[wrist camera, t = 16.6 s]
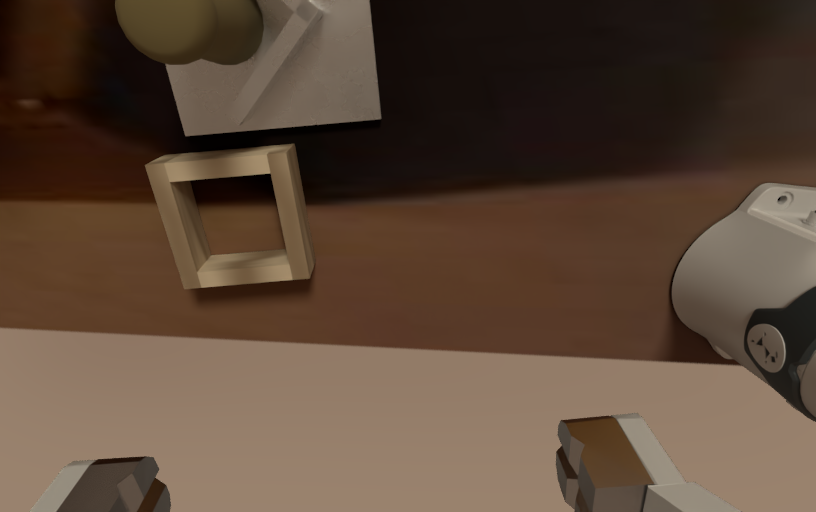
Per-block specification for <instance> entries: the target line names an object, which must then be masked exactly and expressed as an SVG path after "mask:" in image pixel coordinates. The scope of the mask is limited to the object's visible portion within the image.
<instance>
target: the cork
mask: <svg viewBox="0 0 816 512" xmlns="http://www.w3.org/2000/svg"><path fill="white" fill-rule="evenodd" d="M115 9H116V13H117V17H118V21H119V24H120V26H121V28H122V30H123V32H124V33H125V35H126V37H127V38H128V40H129V41H130V42H131V43H132V44H133V45H134V46H135V47H136V48H137V49H138V50H139V51H140V52H142V53H144V54H145V55H147V56H148V57H150V58H151V59H153V60H155V61H159V62H162V63H165V64H168V65H185V64H189V63H192V62H195V61H197V60H200V59H203V60H207V61H210V62H214V63H217V64H221V65H237V64H240V63H242V62H245V61H247V60H248V59H249V58H250V57H252V56H253V55H254V54H255V53H256V51H257V50H258V48H259V46H260V44H261V42H262V37H263V31H264V25H263V17H262V12H261V10H260V8H259V5H258V3H257V0H115Z"/></svg>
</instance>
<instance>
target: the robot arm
mask: <svg viewBox="0 0 816 512" xmlns="http://www.w3.org/2000/svg"><path fill="white" fill-rule="evenodd" d="M779 197H781V198H780V200H779V201H778V198H779ZM672 302H673V306H674V309H675V311H676V314H677V315H678V317H679V318H680V320H681V321H682V322H683V323H684V324H685V325H686V326H687V327H688V328H690V329H691V330H693V331H695V332H697V333H698V334H700V335H702V336H703V337H705V338H706V339H708V341H709V343H710V344H711V346H712V348H713V349H714V350H715V351H716V352H717V353H718V354H719V355H721V356H722V357H723V358H725V359H734V360H736V361H737V362H738V363H740V364H741V365H742V366H744V367H745V368H747V369H748V370H749V371H750V372H752V373H753V374H754V375H756V376H757V377H759V378H760V379H761V380H763V381H764V382H765V383H767V384H768V385H770V386H771V387H772V388H774V389H775V390H776V391H777V392H778V393H779V394H780V395H781V396H783V397H784V398H785V399H786V402H787V403H789V404H790V405H791V406H792V407H793V408H795V409H796V410H798V411H800V412H801V413H803V414H804V415H805V416H806V417H808V418H810V419H811V420H813V421H815V422H816V188H813V187H804V186H795V185H786V184H776V183H765V184H762V185H760V186H759V187H757V188H756V189H755V190H754V191H753V192H752V193H751V194H750V195H749V196H748V197H747V198H746V199H745V200H744V202H743V203H742V204H741V205H740V206H739V208H738V209H737V210H736V211H734V212H733V213H732V214H730V215H729V216H727V217H726V218H724V219H723V220H721V221H719V222H718V223H716V224H715V225H713V226H712V227H710V228H709V229H708V230H707V231H705V232H704V233H703V234H702V235H701V236H700V237H699V238H698V239H697V240H696V241H695V242H694V243H693V244H692V245H691V247H690V248H689V249H688V250H687V252H686V253H685V255H684V256H683V258H682V260H681V261H680V263H679V265H678V268H677V270H676V273H675V276H674V279H673V284H672ZM558 437H559V440H560V442H561V444H562V446H561V447H560V448H559V449H558V450H557V452H556V468H557V475H558V481H559V484H560V488H561V491H562V494H563V497H564V500H565V502H566V503H567V504H569V505H570V506H571V507H572V508H573V509H575V512H742V511H740V510H738V509H737V508H735V507H734V506H732V505H731V504H729V503H727V502H726V501H724V500H723V499H721V498H720V497H718V496H716V495H715V494H713V493H711V492H710V491H708V490H707V489H705V488H704V487H702V486H701V485H699V484H697V483H696V482H686V481H685V479H684V478H683V476H682V475H681V473H680V472H679V471H678V469H677V468H676V466H675V465H674V463H673V462H672V460H671V459H670V457H669V456H668V454H667V453H666V451H665V450H664V449H663V447H662V446H661V444H660V443H659V441H658V440H657V438H656V437H655V435H654V434H653V432H652V431H651V429H650V428H649V426H648V425H647V424H646V422H645V421H644V419H643V418H642V416H640V415H639V414H637V413H632V414H622V415H611V416H601V417H590V418H580V419H570V420H561V421H560V423H559V426H558ZM158 471H159V468H158V466H157V464H156V462H155V460H154V458H153V457H129V458H112V459H98V460H87V461H73V462H72V463H70V464H68V465H67V466H65V467H64V468H63V469H62V470H61V472H60V473H59V474H58V476H57V477H56V478H55V479H54V481H53V482H52V483H51V485H50V486H49V487H48V488H47V490H46V491H45V492H44V493H43V495H42V496H41V497H40V499H39V500H38V501H37V503H36V504H35V505H34V506H33V508H32V509H31V510H30V512H170V507H171V502H170V494H169V491H168V489H167V486H166V485H165V484H164V483H162V482H161V481H159V480H158V479H156V478H155V477H156V475H157V473H158Z"/></svg>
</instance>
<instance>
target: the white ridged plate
mask: <svg viewBox="0 0 816 512" xmlns="http://www.w3.org/2000/svg"><path fill="white" fill-rule="evenodd" d="M257 3H258V5H259V8H260V10H261V12H262V17H263V25H264V31H263V37H262V42H261V44H260V46H259V48H258V50H257V51H256V53H255V54H254V55H253V56H252V57H250V58H249V59H248V60H247V61H245V62H242V63H240V64H237V65H221V64H217V63H214V62H210V61H207V60H203V59H200V60H197V61H195V62H192V63H189V64H185V65H168V64H166V68H167V71H168V75H169V79H170V82H171V86H172V90H173V93H174V97H175V100H176V104H177V108H178V111H179V115H180V119H181V122H182V126H183V130H184V133H185V136H194V135H206V134H217V133H228V132H240V131H251V130H263V129H274V128H286V127H297V126H309V125H320V124H332V123H343V122H355V121H366V120H378V119H381V109H380V99H379V89H378V79H377V69H376V60H375V50H374V40H373V30H372V20H371V10H370V0H257Z"/></svg>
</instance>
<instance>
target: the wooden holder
mask: <svg viewBox="0 0 816 512" xmlns="http://www.w3.org/2000/svg"><path fill="white" fill-rule="evenodd" d="M145 167H146V171H147V174H148V177H149V180H150V183H151V186H152V189H153V192H154V196H155V199H156V202H157V205H158V208H159V211H160V214H161V218H162V221H163V224H164V227H165V230H166V233H167V236H168V239H169V243H170V246H171V249H172V252H173V255H174V258H175V261H176V264H177V268H178V271H179V274H180V277H181V280H182V283H183V286H184V289H193V288H205V287H216V286H228V285H240V284H251V283H263V282H274V281H286V280H298V279H309V278H310V276H311V273H312V271H313V268H314V265H315V262H316V260H315V255H314V249H313V244H312V238H311V233H310V227H309V222H308V216H307V210H306V205H305V199H304V194H303V188H302V183H301V177H300V172H299V166H298V160H297V155H296V149H295V144H286V145H275V146H263V147H252V148H240V149H229V150H217V151H206V152H194V153H183V154H171V155H164V156H162V157H160V158H158V159H156V160H154V161H152V162H150V163H148V164H146V165H145ZM270 173H271V178H272V182H273V187H274V192H275V197H276V202H277V207H278V211H279V216H280V221H281V226H282V231H283V236H284V240H285V245H286V249H281V250H270V251H258V252H247V253H235V254H223V255H212V256H211V253H210V250H209V246H208V243H207V239H206V236H205V232H204V229H203V225H202V221H201V218H200V214H199V211H198V207H197V204H196V200H195V197H194V193H193V190H192V186H191V183H190V180H200V179H212V178H223V177H235V176H246V175H258V174H270Z"/></svg>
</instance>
